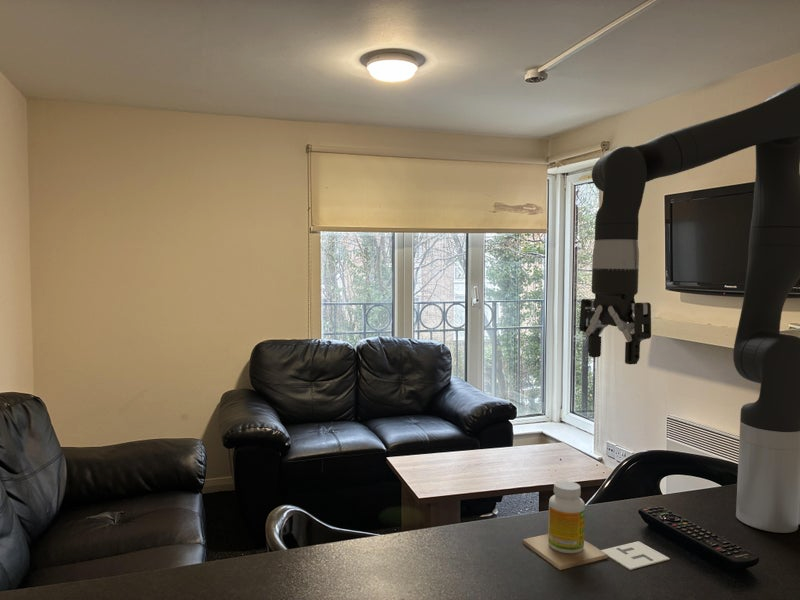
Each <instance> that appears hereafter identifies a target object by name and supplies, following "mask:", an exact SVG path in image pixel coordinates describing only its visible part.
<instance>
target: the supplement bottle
mask: <svg viewBox="0 0 800 600" xmlns="http://www.w3.org/2000/svg"><path fill="white" fill-rule="evenodd" d="M581 493H582V491H581V485H580V484H579V483H577V482H574V481H570V480H558V481H555V482H554V484H553V495H552V496H550V498H549V500H548V501H549V502H548V530H547V531H548V533H547V534H548V544H549V545H550V547H551V548H553V549H554V550H556V551H559V552H562V553H570V554H571V553H578V552H581V551H582V550H583V548H584V540H585V523H586V522H585V521H586V519H585V517H586V504H585V501H584V500H583V499H582V498H581Z"/></svg>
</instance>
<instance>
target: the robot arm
mask: <svg viewBox="0 0 800 600" xmlns="http://www.w3.org/2000/svg"><path fill="white" fill-rule="evenodd" d="M751 147H755V179H754V180H755V181H754V190H753V202H752V203H753V205H752V216H751V222H750V223H751V224H750V231H749V238H748V239H749V241H748V254H747V255H748V257H747V269H746V275H745V282H744V283H745V285H744V291H743V292H744V293H743V301H742V306H741V312H740V317H739V321H738V325H737V331H736V335H735V338H734V345H733V352H732V353H733V355H732V357H733V359H732V360H733V364H734V368H735V370H736V372H737V373H738V374H739V375H740V376H741V377H742V378H743V379H745V380H747V381H750V382H754V383H757V384H760V389H759V394H758V399H757V400H756V401H754V402H748V403H745V404H743V405H742V407H741V408H740V420H739V421H740V422H739V438H738V439H739V441H738V462H737V465H738V466H737V482H736V488H737V489H736V506H735V508H736V509H735V511H736V512H735V517H736V519H738V520H739V521H740V522H741V523H743V524H745V525H747V526H750V527H751V528H754V529H758V530H762V531H766V532H771V533H779V534H780V533H781V534H788V533H789V534H790V533H793V532H796V531H798V529H799V525H800V337H798V336H797V335H796V336H795V335H792V334H785V333H781V320H782V314H783V313H782V312H783V309H784V305H785V302H786V300H787V298H788V296H789V294H790V293H791V292H792V289H793V288H794V287H795V286H796V285H797V282H798V281H799V280H800V82H797V83H795V84H793V85H790V86H789V87H788V86H787V87H786V88H784V89H782V90H780V91H778V92H777V93H774V94H772V95H771V96H769V97H768V98H767V99H765V100H764V101H762V102H760V103H758V104H756V105H753V106H750V107H747V108H745V109H741V110H740V111H736V112H733V113H730V114H726V115H723V116H720V117H717V118H713V119H710V120H709V119H708V120H706V121H703V122H699V123H696V124H693V125H689V126H687V127H682V128H679V129H677V130H673V131H670V132H667V133H665V134H664V133H663V134H662V135H658V136H657V137H655V138H652V139H651V140H649V141H646V142H644V143H642V144H639V145H635V146H629V145H624V146H619V147H616V148H614V149H613V150H610V151H609V152H607V153H606V154H604V155H602V156H601V157H599V159H598V160H597V161H596V162H595V164H594V165H593V167H592V170H591V179H592V183H593V184H594V186H595V188H597V189H598V190H599V191H601V192H602V193H603V194H602V202H601V206H600V207H599V208H598V210H597V211H596V213H595V220H594V244H593V250H592V251H593V252H592V261H591V262H592V264H591V267H592V268H591V293H592V294H594V295H595V296H594V298H582V299H581V301H580V311H579V312H580V313H579V323H578V324H579V326H578V328H579V331H580V332H584V333H585V334H586V336H587V353H588V357H590V358H600V357H601V355H602V335H601V334H602V333H603V331H604V330H605V328H607V327H608V326H612V327H617V329H618V331H619V332H622V334H623V336H624V338H625V340H626V341H625V346H624V363H625V364H626V365H637V364H638V362H639V361H640V358H641V357H640V351H641V342H642V341H644V340H648V339H651V337H652V305H651V303H650V302H636V300H635V296H636V295H637V294H638V293H639V266H640V252H639V251H640V250H639V214H640V208H641V206H642V202H643V197H644V192H645V187H646V183H648V182H650V181H653V180H655V179H659V178H663V177H664V178H665V177H669V176H674V175H676V174H679V173H682V172H686V171H689V170H692V169H693V170H694V169H695V168H698V167H701V166H703V165H704V166H705V165H707V164H709V163H712V162H714V161H717V160H719V159H722V158H724V157H727V156H730V155H732V154H735V153H737V152H740V151H742V150H745V149H748V148H751Z"/></svg>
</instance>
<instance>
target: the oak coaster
mask: <svg viewBox="0 0 800 600" xmlns="http://www.w3.org/2000/svg"><path fill="white" fill-rule="evenodd" d="M522 544H523V545H525V546H526V547H527V548H528V549H530V550H531V551H533V552H534V553H536V554H537V555H538V556H540V557H541V558H542V559H544V560H545V561H547V562H548V563H550V564H551V565H552V566H553V567H555V568H556V569H558V570H559V571H561V570H562V571H563V570H565V569H570V568H574V567H577V566H581V565H586V564H590V563H594V562H598V561H601V560H606V559H608V556H607V554H606V553H604V552H603V551H601V550H602V549H599V548H598V547H597V546H594V545H593V544H591V543H590V542H588V541H586V540H585V539H584V548H583V550H582V551H581V552H578V553H571V554H570V553H562V552H559V551H556V550H554V549H553V548H551V547H550V545H549V544H548V533H545V534H542V535H538V536H532V537H528V538H523V539H522Z"/></svg>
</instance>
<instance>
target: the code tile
mask: <svg viewBox="0 0 800 600" xmlns="http://www.w3.org/2000/svg"><path fill="white" fill-rule="evenodd" d="M600 550H601V551H603V552H604V553H606V554H607V558H609V559H611V560H613V561H614V562H616V563H618V564H619V565H620V566H623V567H624V568H626V569H627V570H629V571H632V570H635V569H638V568H643V567H646V566H650V565H654V564H655V565H656V564H658V563H662V562H665V561H669V560H670V557H668V556H667V555H665V554H663V553H661V552H659V551H657V550H655V549H654V548H651V547H649V546H648V545H646V544H644V543H643V542H641V541H634V542H629V543H626V544H621V545H617V546H613V547H609V548H604V549H600Z"/></svg>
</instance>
